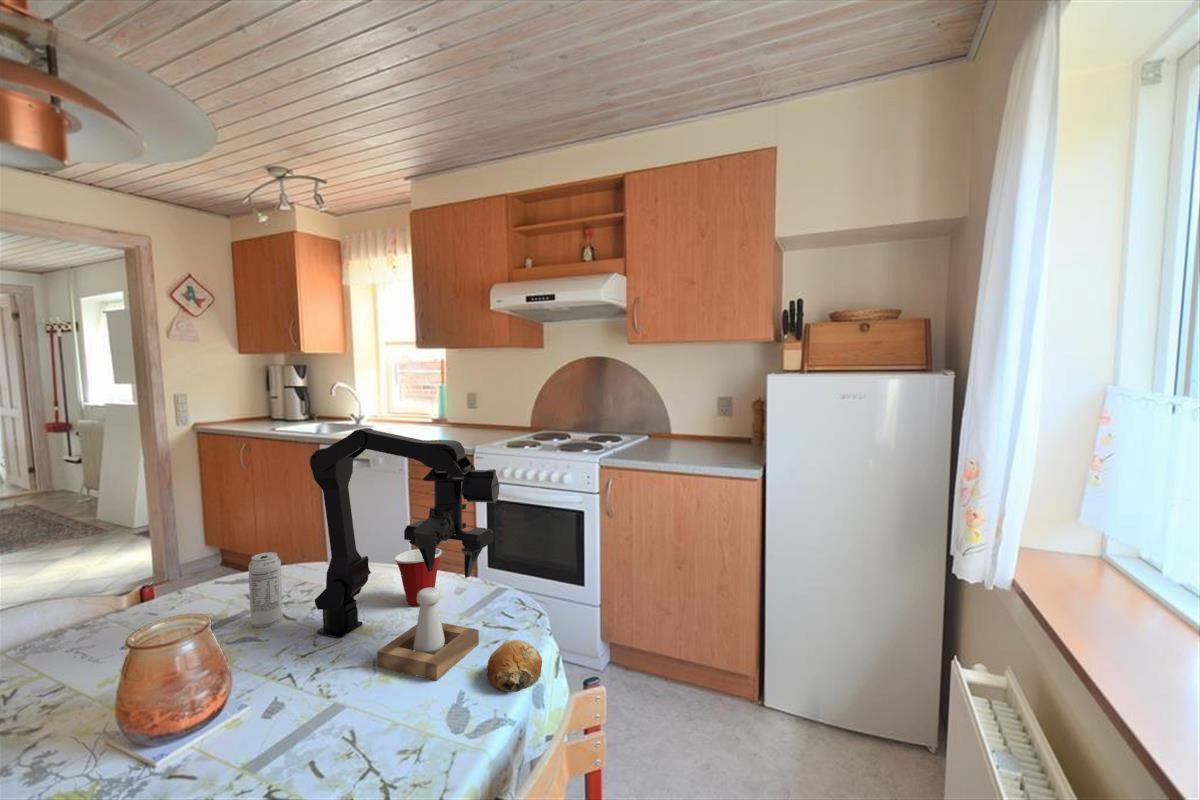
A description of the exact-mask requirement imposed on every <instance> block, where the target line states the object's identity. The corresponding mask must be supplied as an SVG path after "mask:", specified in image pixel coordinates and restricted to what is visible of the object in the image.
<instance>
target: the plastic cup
mask: <svg viewBox="0 0 1200 800" xmlns="http://www.w3.org/2000/svg"><path fill="white" fill-rule="evenodd" d="M441 555H442V549H440V548H438V547H436V551H435V562H434V567H433V571H431V572H428V569H427V567H426V564H425V562H424V559H423V557H422V554H421V552H420V550H419V549H418V548H417V549H411V550H406V551H404V552H401V553H399V554H397V555H395V556H394V561H395V563H396V564H397V567H398V569H399V572H400V577H401V581H402V587H403V591H404V595H405V598H406V602H407V605H408V606H409V607H414V608H415V607H416V608H417V607H419V608H420V605H419V604H418V603H417V594H418V592H419V591H420V590H422V589H424V588H429V587H434V588H436V583H437V582H436V581H437V573H438V567H439V561H440V557H441Z"/></svg>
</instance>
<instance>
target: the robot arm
mask: <svg viewBox="0 0 1200 800" xmlns="http://www.w3.org/2000/svg"><path fill="white" fill-rule="evenodd" d="M366 450H369V451H374V452H379V453H383V454H388V455H391V456H392V455H393V456H397V457H403V458H407V459H413V460H415V461H417V462H420V463H421V464H422V465H424V466H425V467H428V468H430V471H429V472H428V473H427V474H426V475H425V476H424V477H423V478H422V480H423V481H427V482H433V507H430V508H429V511H428V518H426V519H425V520H422V519H421V520H418V521H416V522H413V523H411V524H408V525H407V526H406V527H405V529H404V531H403V539H404V540H405V541H408V543H409V544H411V545H414V547H416V548H417V549H419V550H420V552H421V554H422V557H423V559H424V562H425V564H426V567H427V569H428V572H431V571H433V567H434V562H435V551H436V548H437V547H438V546H439V545H440V544H441V543H442V541H443V542H447V540H453V541H454V540H455V541H461V545H462V546H463V548H461V549H460V551H461V552H462V553H463V555H464V569H463V571H464V578H465V579H468V578H469V577H470V576H471V574H472V571H473V569H474V567H475V565H476V562H477V560H478V558H479V555H480V554H481V552H482V550H483V549H484V548H485V547H487V546H488V545H490V544H492V543H494V540H495V539H494V532H493V530H492V529H491V528H488V527H487V528H485V527H477V526H476V527H474V528H472V529H470V530H468V531H466V530H464V529H466V528H467V523H466V522H463V510H466V509H467V503H463V500H466V501H467V502H468V503H486V504H488V503H490V504H491V503H493V504H494V503H497V502H498V500H499V499H498V498H499V495H500V482H499V478H498V475H497V470H496V469H495V468H494V469H476V467H475V466H474V465H473V463H472V462H471V460H470V458H468V456H467V455H466V450H465V447H464V446H463V444H462V443H461V442H460V441H457V440H454V439H453V440H452V439H448V440H447V439H432V440H427V439H426V440H425V439H418V438H414V437H410V436H404V435H399V434H394V433H390V432H385V431H381V430H375V429H373V428H372V427H365V428H364V427H363V428H359V429H355V430H354V431H352V432H351V433H349V434H348V435H347V436H345V437H344V438H341V439H340V440H338V441H337V442H335V443H332V444H331V445H329V446H328V447H323V448H320V449H317V450H316V451H314V452H313V454H311V456H310V458H309V467H310V470H311V473H312V476H313V480H314V481H315V482H316V484H317V485H318V486H319V488H320V489H321V491H322V494H323V501H324V508H325V510H324V511H325V518H326V525H327V531H328V532H327V533H328V538H329V539H328V541H329V546H330V547H329V548H330V553H331V558H330V562H329V565H328V568H327V571H326V576H325V577H326V579H325V582H326V583H325V589H323V591H322V592H320V594H319V595H318V596H316V598H315V599H314V604H315V606H316V609H317V610H321V611H322V624H323V625H322V626H323V627H321V628H319V629H317V631H316V632H317V634H319V635H324V636H327V637H334V638H338V639H340V638H342V637H344V636H345V635H347V634H349V633H351V632H352V631H354V630H357V628H359V627H361V626H362V625H363V624H364V623H363V621H359V618H358V617H359V615H358V613H359V612H358V610H359V609H358V607H357V599H355V597H356V596H357V595H359V594H361V590H362V588H363V587H364V586H365V585H366V584H367V582H368V581H369V576H370V575H371V574H372V572H371V570H370V568H369V557H368V556H367V555H366V556H361V554H360V553H359V552H358V549H357V545H356V537H355V531H354V530H355V529H354V521H353V513H352V506H351V499H350V492H349V491H350V490H349V484H350V481H351V479H352V475H353V470H354V460H355V459H356V458H357V457H359V456H361V454H363V453H364V452H365V451H366Z"/></svg>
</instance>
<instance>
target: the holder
mask: <svg viewBox="0 0 1200 800" xmlns="http://www.w3.org/2000/svg"><path fill="white" fill-rule="evenodd" d="M441 623H442V628H443V633H444V638H445V642H444V646H443V648H442V649H441V650H439V651H438V652H437V653H436V654H434V655H432V654H428V653H423V652H418V651H415V649H414V642H415V635H416V629H417V624H416V625H414V626H412V627H411V628H409V629H408V630H406V631H404V633H402V634H400V635H399V636H397V637H396V638H394V639H393V640H392V641H390V642H389V643H387V644H386V645H384V646H383V647H381V648H379V649H378V650H377V651H376V653H377V656H376V657H377V659H376V660H377V661H376V662H377V668H382V669H386V670H390V671H393V672H398V673H403V674H408V675H411V674H412V676H415V675H418V676H417V677H419V676H421V677H420V678H423V677H424V679H427V678H429V679H428V680H432V679H433V680H432V681H436V680H437V681H439V680H440V679H441V678H442V677H443V676H444V675H445V674H447V672H449V671H450V670H451V669H452V668H454V667H455V666H456V665H457V664H458V663H459V662H461V660H462V659H464V658H465V657H466V656H467V655H468V654H469V653H471V651H473V650H474V649H475V648H476V647H477V646H478V645H479V643H480V641H479V640H480V639H479V638H480V637H479V634H480V633H479V629H477V628H471V627H467V626H466V627H465V626H461V625H457V624H451V623H445V622H441ZM439 678H440V679H439Z"/></svg>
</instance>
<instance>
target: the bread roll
mask: <svg viewBox="0 0 1200 800" xmlns="http://www.w3.org/2000/svg"><path fill="white" fill-rule="evenodd" d="M542 665H543V659H542V656H541V654H540V653H539V651H538V650H537V648H535V646H534V645H532V644H531V643H529V642H527V641H525V640H522V639H511V640H510V639H508V640H504V642H503V643H502V644H501V645H499V646H498V647H497V648H496V649H494V651H493V652H491V654H490V656H489V659H488V661H487V666H486V668H487V669H486V678H487V681H488V683H489V684H490V686H491V687H492V688H494V689H495V690H498V691H499V690H500V691H504V692H516V691H521V690H522V689H525V688H528V687H530V686H531V685H533V684H534V683H536V682H537V681H538V679H539V678H541V675H542V667H543V666H542Z"/></svg>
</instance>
